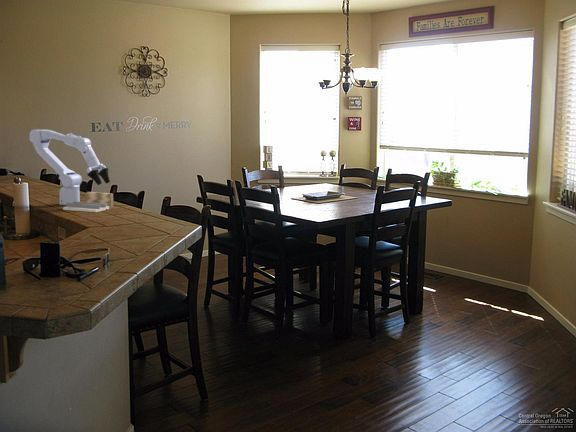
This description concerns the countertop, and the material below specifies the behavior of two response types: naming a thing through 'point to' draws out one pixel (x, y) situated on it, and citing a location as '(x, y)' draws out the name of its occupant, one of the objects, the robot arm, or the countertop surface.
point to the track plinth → (86, 206)
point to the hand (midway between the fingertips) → (104, 183)
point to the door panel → (100, 198)
